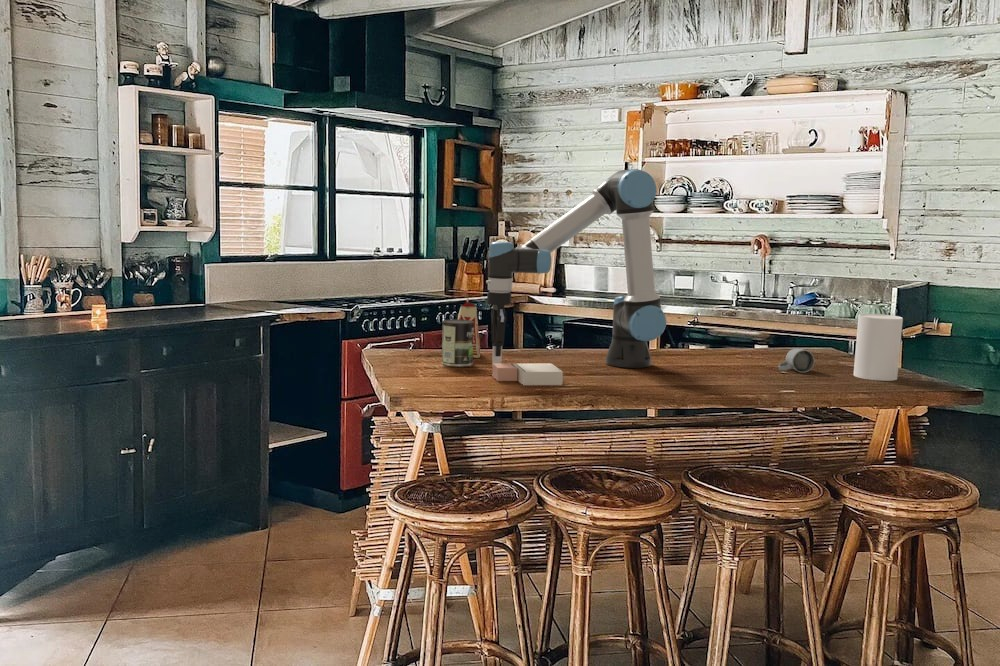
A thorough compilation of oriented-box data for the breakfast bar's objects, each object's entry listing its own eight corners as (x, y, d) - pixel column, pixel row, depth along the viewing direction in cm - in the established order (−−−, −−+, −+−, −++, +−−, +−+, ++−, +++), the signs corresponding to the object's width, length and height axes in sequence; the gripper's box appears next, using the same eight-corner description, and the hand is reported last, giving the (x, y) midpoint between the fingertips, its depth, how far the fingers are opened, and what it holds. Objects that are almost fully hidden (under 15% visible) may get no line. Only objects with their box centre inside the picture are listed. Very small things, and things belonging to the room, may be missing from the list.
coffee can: (475, 362, 326) (477, 320, 324) (468, 367, 316) (469, 324, 314) (445, 360, 328) (446, 318, 326) (437, 365, 318) (438, 322, 316)
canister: (844, 373, 327) (849, 314, 324) (875, 372, 332) (880, 313, 329) (874, 381, 314) (880, 319, 312) (906, 379, 320) (912, 318, 317)
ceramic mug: (804, 368, 334) (805, 346, 333) (814, 373, 326) (815, 350, 325) (774, 368, 333) (775, 346, 332) (783, 373, 325) (784, 350, 324)
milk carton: (479, 357, 335) (481, 299, 332) (452, 356, 335) (454, 298, 332) (480, 353, 344) (482, 296, 341) (454, 352, 344) (455, 295, 341)
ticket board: (550, 376, 305) (551, 362, 305) (562, 385, 292) (562, 371, 291) (513, 376, 303) (513, 362, 302) (522, 385, 289) (523, 371, 289)
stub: (511, 376, 303) (511, 362, 302) (516, 381, 295) (517, 367, 295) (492, 376, 302) (492, 362, 301) (497, 381, 294) (497, 367, 293)
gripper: (483, 289, 312) (481, 362, 315) (491, 293, 299) (488, 369, 303) (507, 289, 314) (504, 362, 317) (515, 293, 301) (512, 369, 304)
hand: (496, 365), depth 310 cm, fingers closed
